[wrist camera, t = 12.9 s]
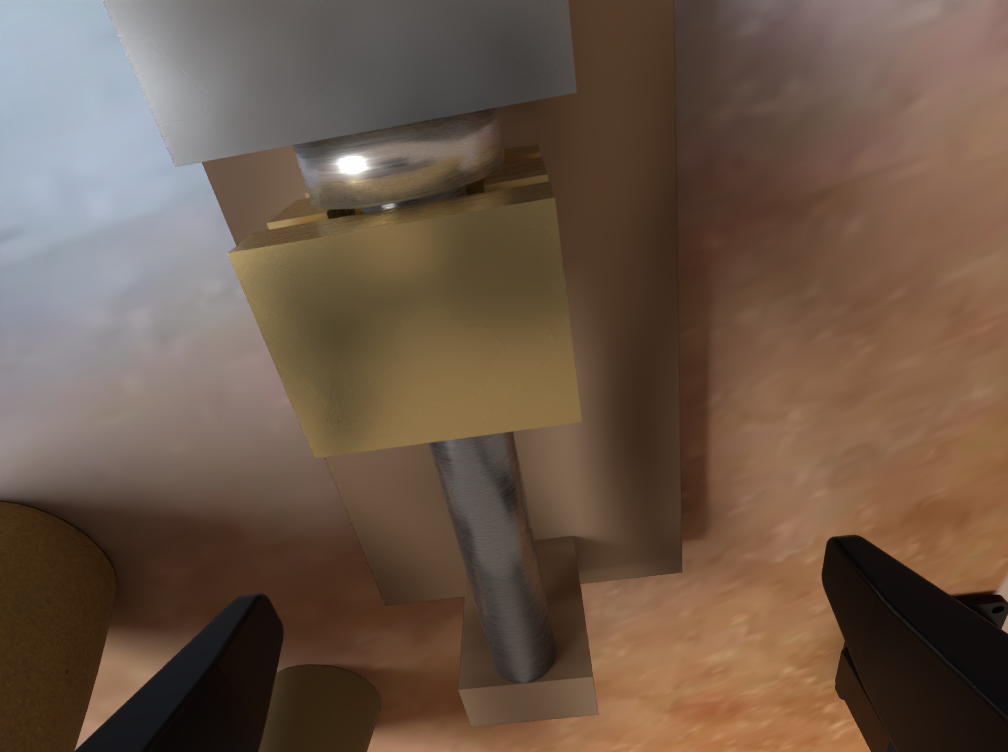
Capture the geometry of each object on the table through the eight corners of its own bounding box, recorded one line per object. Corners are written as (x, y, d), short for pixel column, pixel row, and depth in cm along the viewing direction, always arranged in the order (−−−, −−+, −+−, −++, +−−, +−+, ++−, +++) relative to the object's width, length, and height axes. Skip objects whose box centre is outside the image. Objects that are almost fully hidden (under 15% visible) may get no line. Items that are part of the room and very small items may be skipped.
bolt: (533, -53, 12) (556, -129, 7) (602, 551, 22) (635, 727, 16) (269, 2, 13) (91, -27, 7) (448, 568, 22) (429, 746, 17)
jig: (655, -97, 13) (782, -212, 7) (672, 543, 24) (729, 715, 18) (169, 5, 14) (-78, -20, 8) (391, 576, 25) (355, 749, 19)
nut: (537, 142, 13) (555, 197, 8) (558, 308, 15) (582, 421, 10) (319, 182, 13) (228, 252, 9) (369, 337, 15) (314, 458, 11)
